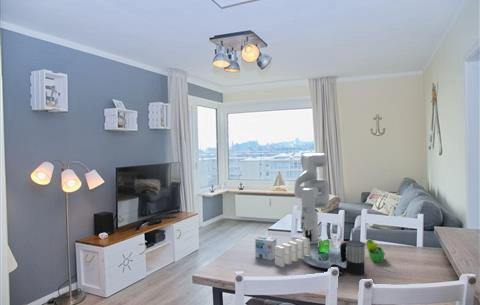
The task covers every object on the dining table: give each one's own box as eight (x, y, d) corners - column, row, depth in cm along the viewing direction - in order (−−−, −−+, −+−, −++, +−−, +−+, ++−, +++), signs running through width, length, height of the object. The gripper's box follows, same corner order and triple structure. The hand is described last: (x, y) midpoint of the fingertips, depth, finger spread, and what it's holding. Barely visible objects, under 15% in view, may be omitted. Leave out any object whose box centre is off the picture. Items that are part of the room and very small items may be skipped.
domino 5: (303, 253, 196) (302, 236, 195) (310, 255, 192) (309, 238, 191) (301, 254, 194) (300, 237, 193) (308, 256, 191) (307, 239, 190)
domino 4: (296, 256, 192) (296, 239, 191) (304, 258, 188) (303, 240, 188) (294, 257, 190) (294, 239, 190) (301, 259, 187) (301, 241, 186)
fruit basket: (385, 263, 179) (385, 242, 179) (368, 262, 181) (368, 241, 181) (380, 256, 190) (381, 236, 190) (364, 255, 192) (364, 235, 192)
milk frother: (368, 271, 168) (368, 242, 167) (354, 281, 156) (354, 250, 156) (341, 264, 178) (341, 237, 177) (327, 273, 166) (326, 244, 166)
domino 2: (284, 261, 184) (284, 243, 184) (291, 263, 181) (291, 245, 180) (281, 262, 183) (281, 243, 183) (289, 264, 179) (288, 245, 179)
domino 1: (277, 263, 181) (277, 245, 180) (284, 266, 177) (284, 247, 177) (275, 264, 179) (274, 246, 179) (282, 267, 176) (282, 248, 175)
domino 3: (290, 258, 188) (290, 241, 188) (297, 260, 184) (297, 242, 184) (288, 259, 187) (288, 241, 186) (295, 261, 183) (295, 243, 183)
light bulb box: (255, 257, 191) (254, 238, 190) (259, 253, 197) (259, 235, 196) (272, 260, 186) (272, 241, 185) (276, 256, 192) (276, 237, 191)
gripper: (305, 212, 186) (305, 245, 186) (321, 208, 196) (321, 239, 196) (295, 210, 192) (295, 242, 192) (310, 207, 202) (310, 237, 202)
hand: (308, 241), depth 194 cm, fingers closed
